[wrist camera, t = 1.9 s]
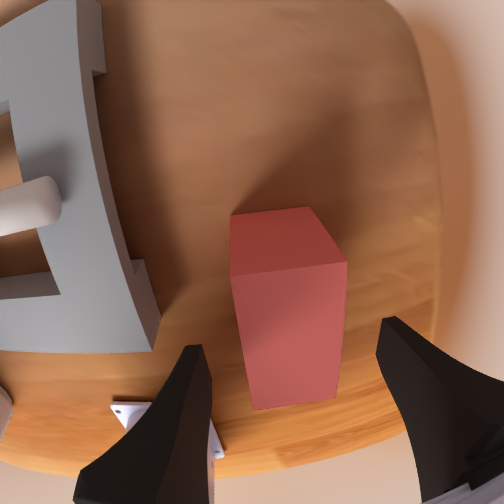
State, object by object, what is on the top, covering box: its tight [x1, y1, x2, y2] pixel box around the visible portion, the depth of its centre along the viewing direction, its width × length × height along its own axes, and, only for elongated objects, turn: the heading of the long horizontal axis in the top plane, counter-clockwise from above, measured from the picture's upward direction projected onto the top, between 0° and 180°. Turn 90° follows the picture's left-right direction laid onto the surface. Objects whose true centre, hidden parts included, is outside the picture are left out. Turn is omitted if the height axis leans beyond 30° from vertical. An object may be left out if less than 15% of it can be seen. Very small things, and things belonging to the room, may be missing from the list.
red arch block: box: [230, 206, 348, 410], centre depth 15 cm, size 8×4×6 cm, turn 6°
